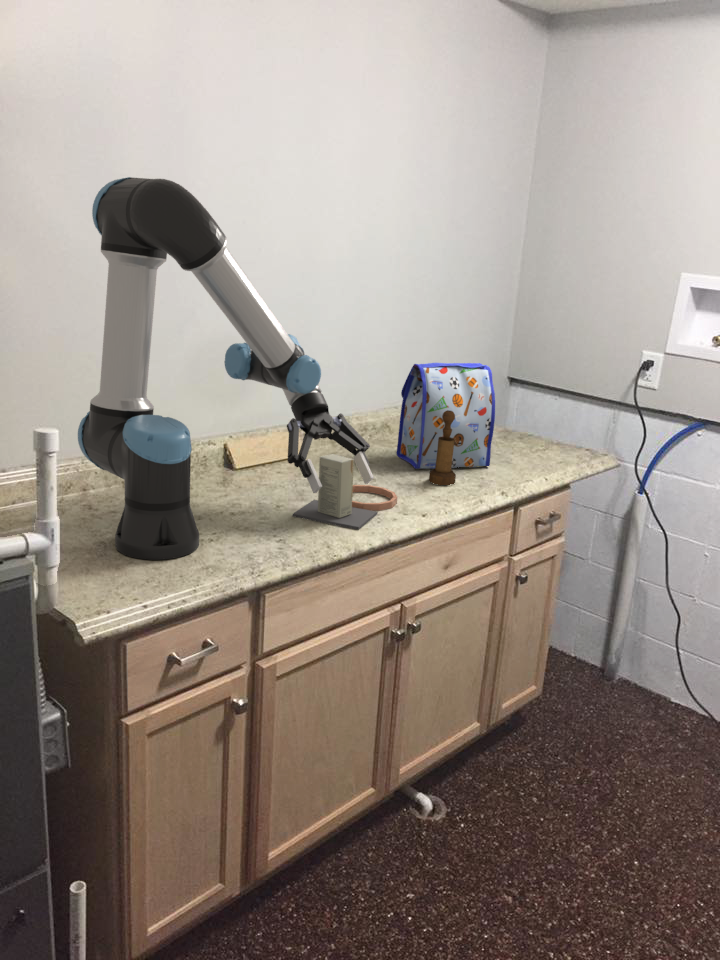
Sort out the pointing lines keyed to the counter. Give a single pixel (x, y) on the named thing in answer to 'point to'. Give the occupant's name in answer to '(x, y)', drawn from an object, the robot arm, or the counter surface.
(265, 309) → the robot arm
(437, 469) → the mortar and pestle
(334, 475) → the skincare box
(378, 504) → the pink polygonal ring
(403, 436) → the lunch bag
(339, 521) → the rubber mat
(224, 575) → the counter surface
